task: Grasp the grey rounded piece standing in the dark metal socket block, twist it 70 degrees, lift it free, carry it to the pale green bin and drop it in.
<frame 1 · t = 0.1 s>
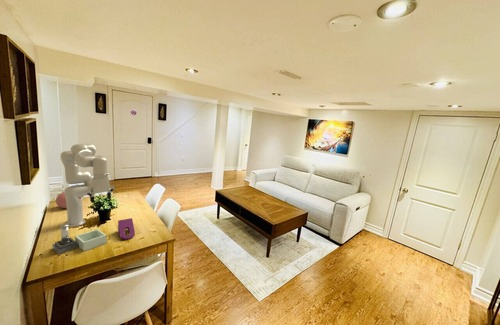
hand: (100, 200, 138), 31 cm above the table, fingers open, 9 cm apart
grey rounded piece: (65, 243, 133), point 3 cm above the table, touching socket block
mounting bracket: (126, 234, 156), on the table
bin: (91, 243, 140), on the table
balloon: (70, 207, 194), on the table
socket block: (65, 248, 133), on the table
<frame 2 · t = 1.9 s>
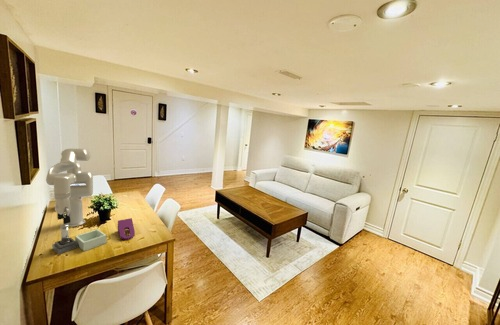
hand: (63, 220, 130), 19 cm above the table, fingers open, 9 cm apart
nothing on the table moved.
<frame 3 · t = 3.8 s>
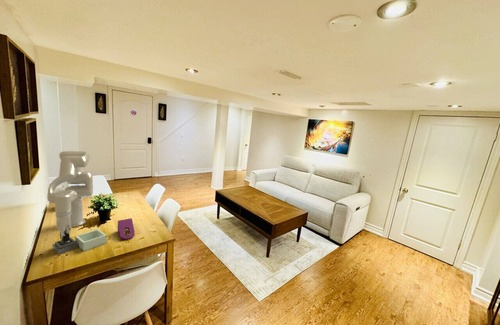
hand: (65, 239, 132), 6 cm above the table, fingers closed on grey rounded piece, 3 cm apart
grey rounded piece: (65, 243, 133), point 3 cm above the table, touching gripper, socket block
everything else where it was.
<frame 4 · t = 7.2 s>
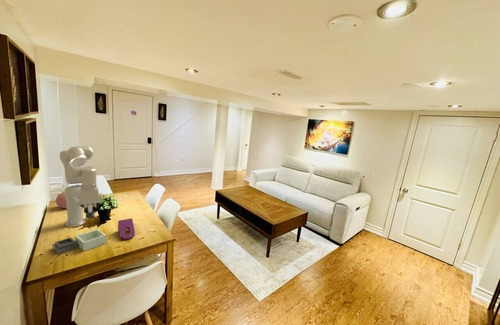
hand: (90, 212, 137), 23 cm above the table, fingers closed on grey rounded piece, 3 cm apart
grey rounded piece: (90, 217, 138), point 19 cm above the table, touching gripper
everything else where it was.
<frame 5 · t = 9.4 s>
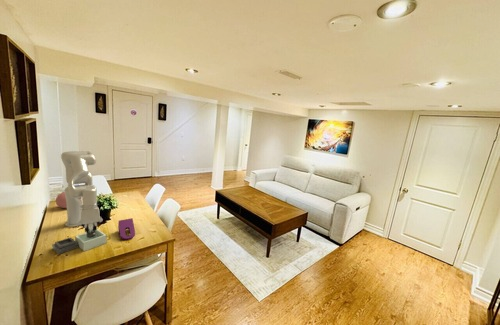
hand: (90, 231, 139), 9 cm above the table, fingers closed on grey rounded piece, 3 cm apart
grey rounded piece: (91, 236, 139), point 6 cm above the table, touching gripper
everything else where it was.
when the fingers open (6 cm above the table, at t = 10.9 s): grey rounded piece drops 2 cm, resting on bin.
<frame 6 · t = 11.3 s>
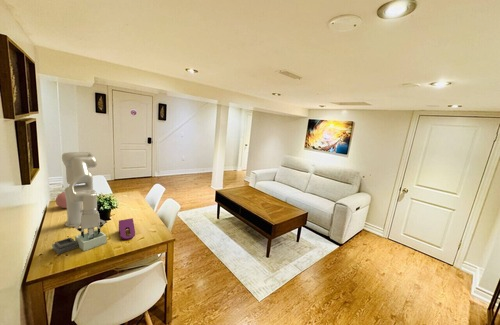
hand: (91, 234, 140), 6 cm above the table, fingers open, 7 cm apart
grey rounded piece: (91, 242, 140), point 1 cm above the table, touching bin
everything else where it was.
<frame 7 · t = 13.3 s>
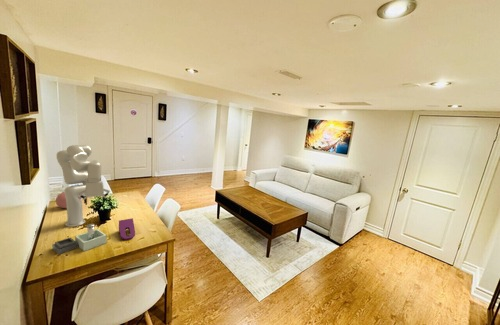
hand: (94, 203, 143), 27 cm above the table, fingers open, 9 cm apart
nothing on the table moved.
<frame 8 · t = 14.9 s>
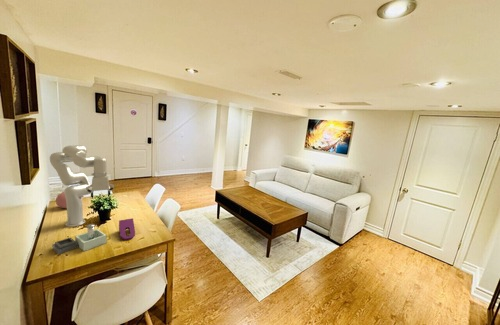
hand: (100, 197, 151), 28 cm above the table, fingers open, 9 cm apart
nothing on the table moved.
at the end: grey rounded piece inside the target area on the bin (0.0 cm from its centre), point 0.7 cm above the bin's base; the gripper is holding nothing; grey rounded piece touching bin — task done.
